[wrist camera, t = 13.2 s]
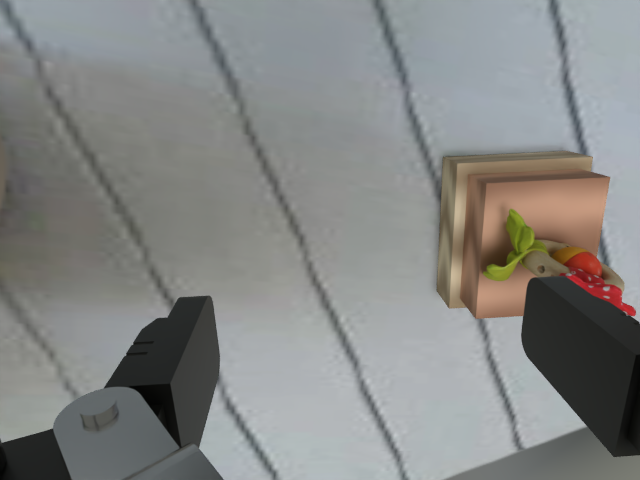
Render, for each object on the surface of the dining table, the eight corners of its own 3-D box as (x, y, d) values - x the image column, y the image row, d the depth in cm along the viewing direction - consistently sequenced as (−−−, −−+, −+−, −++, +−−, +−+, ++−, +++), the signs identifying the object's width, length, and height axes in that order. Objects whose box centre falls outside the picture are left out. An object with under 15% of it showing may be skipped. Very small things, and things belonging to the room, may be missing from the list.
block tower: (443, 156, 42) (474, 171, 35) (566, 150, 43) (624, 164, 35) (436, 290, 47) (463, 329, 39) (548, 284, 47) (596, 321, 40)
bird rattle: (555, 206, 38) (480, 202, 34) (704, 256, 29) (626, 259, 25) (532, 273, 40) (458, 277, 36) (665, 339, 31) (586, 355, 27)
